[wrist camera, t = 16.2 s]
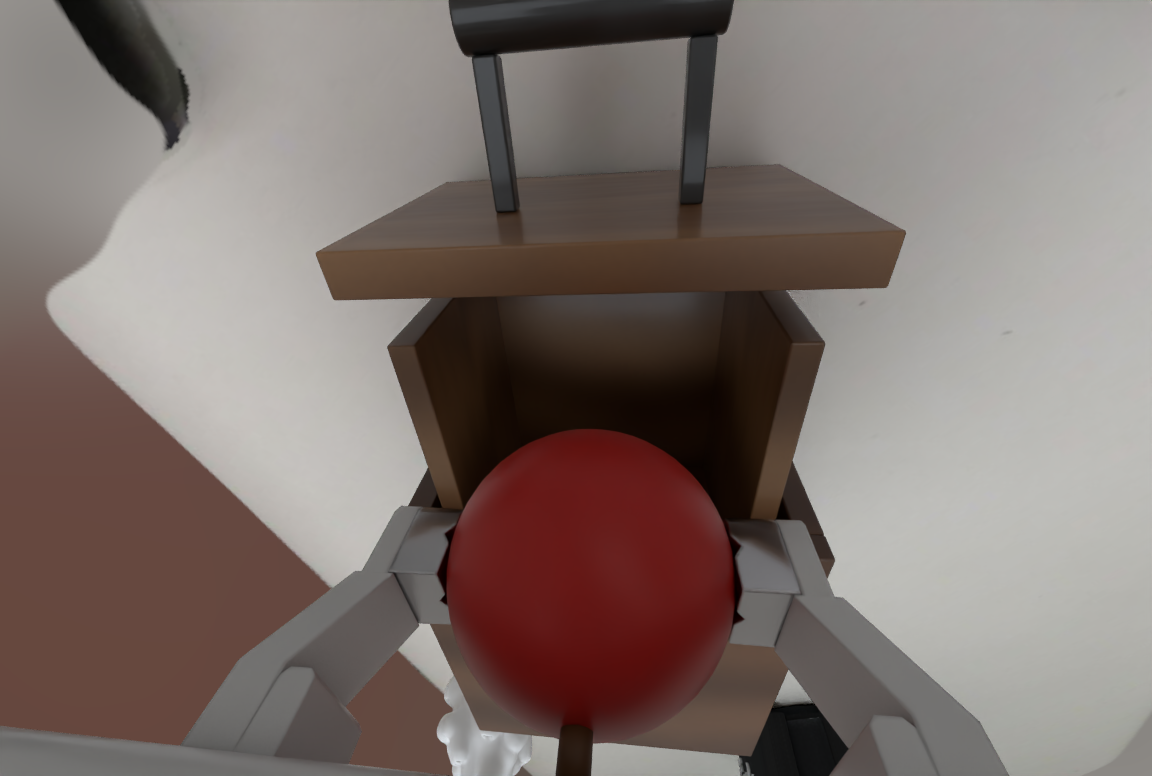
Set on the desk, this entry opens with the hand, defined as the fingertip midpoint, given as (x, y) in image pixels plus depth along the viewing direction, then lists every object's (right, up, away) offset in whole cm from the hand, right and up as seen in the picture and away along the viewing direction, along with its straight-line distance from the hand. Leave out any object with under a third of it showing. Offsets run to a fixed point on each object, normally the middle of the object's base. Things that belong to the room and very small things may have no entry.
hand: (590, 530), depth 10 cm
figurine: (-6, -16, +28) cm, 33 cm away
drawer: (+1, +7, +10) cm, 12 cm away
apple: (0, -1, -1) cm, 1 cm away
